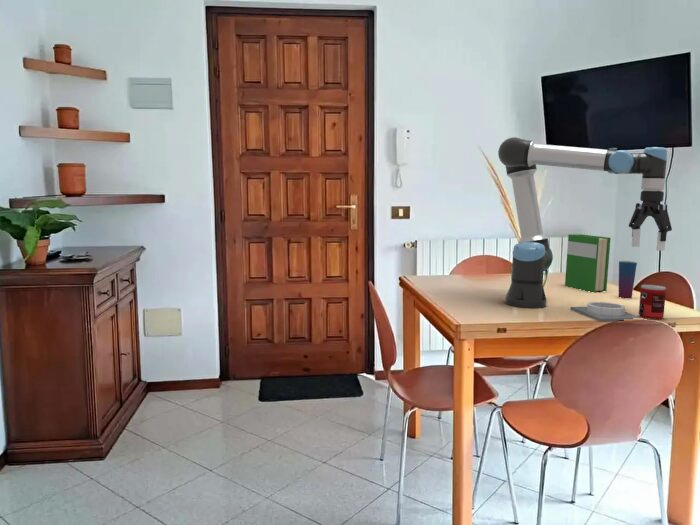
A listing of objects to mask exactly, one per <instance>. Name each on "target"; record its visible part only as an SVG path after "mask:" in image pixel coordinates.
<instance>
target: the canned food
mask: <svg viewBox="0 0 700 525" xmlns="http://www.w3.org/2000/svg"><path fill="white" fill-rule="evenodd" d="M666 287H667V286H666ZM666 287H665V286H663V285H658V284H657V285H655V284H642V285H641V286H640V292H639V293H640V295H639V296H640V297H639V306H638V307H639V309H638V316H639V317H642V318H644V319H648V318H650V319H649V320H661V319H663V318H664V316H665V305H666V304H665V303H666V294H667V293H666V292H667V288H666Z"/></svg>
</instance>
